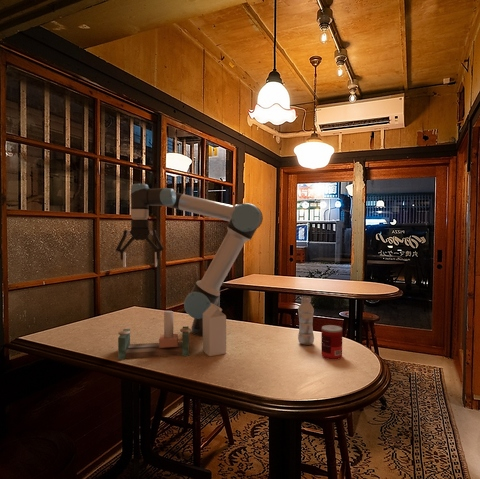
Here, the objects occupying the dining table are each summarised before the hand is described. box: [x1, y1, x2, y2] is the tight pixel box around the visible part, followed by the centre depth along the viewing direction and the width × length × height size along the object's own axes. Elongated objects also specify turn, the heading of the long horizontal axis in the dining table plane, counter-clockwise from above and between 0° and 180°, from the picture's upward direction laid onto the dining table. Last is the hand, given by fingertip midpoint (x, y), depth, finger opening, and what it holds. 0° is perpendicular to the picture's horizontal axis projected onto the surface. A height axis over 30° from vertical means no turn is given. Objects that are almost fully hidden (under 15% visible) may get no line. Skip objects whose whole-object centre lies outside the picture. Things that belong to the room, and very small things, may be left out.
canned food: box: [320, 324, 343, 361], centre depth 134 cm, size 8×8×11 cm
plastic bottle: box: [297, 295, 315, 346], centre depth 148 cm, size 6×7×20 cm
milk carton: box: [202, 303, 227, 357], centre depth 138 cm, size 7×7×19 cm
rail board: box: [117, 326, 191, 360], centre depth 139 cm, size 28×12×8 cm, turn 99°
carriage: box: [158, 310, 179, 348], centre depth 140 cm, size 7×7×13 cm
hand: (140, 267), depth 157 cm, fingers open, 13 cm apart
